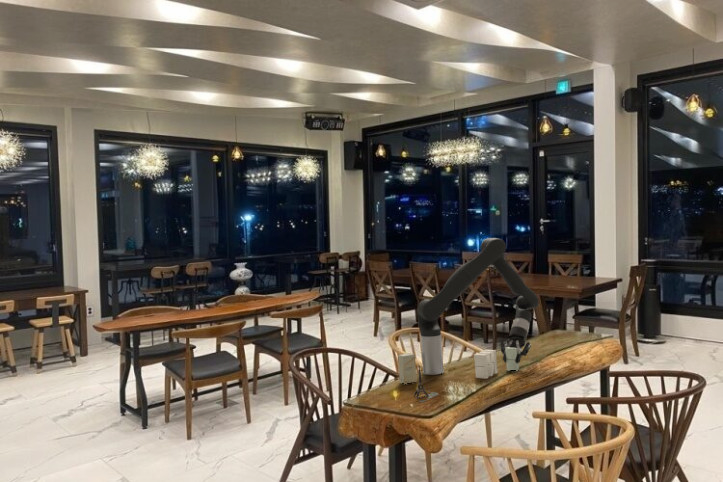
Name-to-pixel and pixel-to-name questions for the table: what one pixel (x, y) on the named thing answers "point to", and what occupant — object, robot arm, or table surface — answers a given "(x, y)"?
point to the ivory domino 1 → (481, 366)
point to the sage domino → (511, 358)
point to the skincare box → (407, 368)
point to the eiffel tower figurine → (423, 390)
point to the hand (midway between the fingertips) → (510, 361)
